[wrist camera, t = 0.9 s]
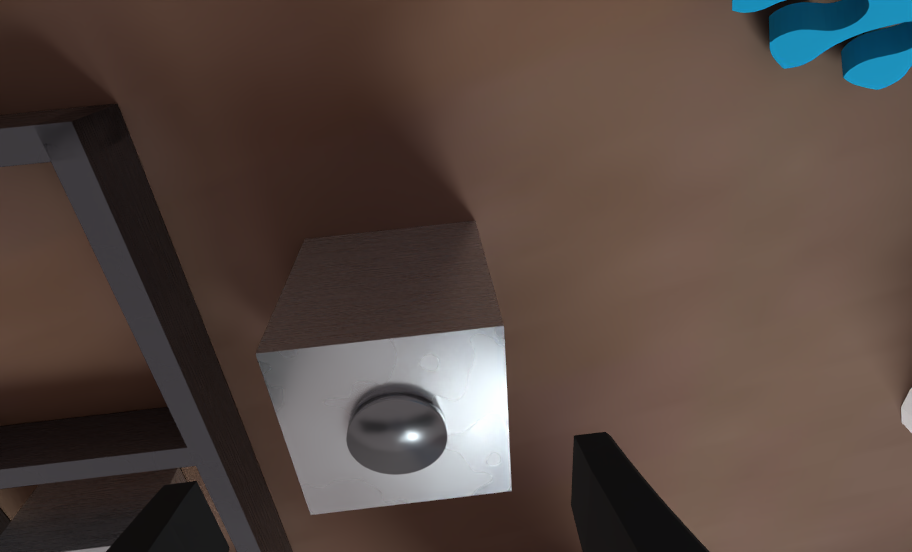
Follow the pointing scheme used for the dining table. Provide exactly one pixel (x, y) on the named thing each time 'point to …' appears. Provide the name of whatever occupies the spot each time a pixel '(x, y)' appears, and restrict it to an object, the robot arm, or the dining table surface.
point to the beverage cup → (907, 411)
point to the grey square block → (390, 369)
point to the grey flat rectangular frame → (137, 337)
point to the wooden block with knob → (83, 512)
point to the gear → (842, 36)
